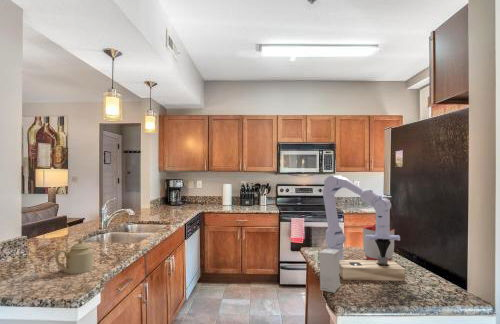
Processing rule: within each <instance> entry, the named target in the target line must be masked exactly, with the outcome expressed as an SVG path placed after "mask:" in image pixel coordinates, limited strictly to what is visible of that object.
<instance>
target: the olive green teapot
mask: <svg viewBox="0 0 500 324" xmlns="http://www.w3.org/2000/svg"><path fill="white" fill-rule="evenodd" d="M83 241H84V240H83V238H82V237H79V238H78V240H77V242H78V243H76V244H73V245H72V246H71V247H69V251H68V252H67V250H65V249H60V250H58V251H57V252H56V253H55V256H54V259H55V260H54V261H55V262H56V265H58V267H60V268H62V269H64V270H65V272H66V274H69V275H79V274H80V275H81V274H85V272H86V273H89V272H91V271H93V269H94V250H93V249H91V245H89V244H88V243H84V242H83ZM61 253H64V255H65V265H63V264H61V263H60V260H59V257H60V254H61ZM90 270H91V271H90ZM88 271H89V272H88Z"/></svg>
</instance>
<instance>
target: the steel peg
mask: <svg viewBox="0 0 500 324" xmlns="http://www.w3.org/2000/svg"><path fill="white" fill-rule="evenodd" d="M378 265H379V266H388V257H387V256H385V257H381V256H380V255H378Z"/></svg>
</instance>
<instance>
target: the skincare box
mask: <svg viewBox="0 0 500 324" xmlns="http://www.w3.org/2000/svg"><path fill="white" fill-rule="evenodd" d="M340 277H341V276H340V268H339V250H334V249H327V248H325V249H322V251H320V252H319V280H320V281H319V283H320V284H319V286H320V287H319V288H320V291H323V292H328V293H333V294H334V293H336V292H337V290H338V289H340V287H341V278H340Z"/></svg>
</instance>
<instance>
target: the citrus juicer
mask: <svg viewBox="0 0 500 324" xmlns="http://www.w3.org/2000/svg"><path fill="white" fill-rule="evenodd" d="M375 234H376V223H374V224H371V225H370V224H368V225H363V226H362V247H363V252H364V256H365V260H378V255H380V251H379V248H378V246H377V243H376V242H375V240H366V235H375ZM390 235H396V230H395V228H394V229H390ZM379 239H380V238H379ZM389 241H391V243H390V245H389V247H388V249H387V252H386V255H385V256H387V257H388V261H392V259H393V256H394V250H395V240H389Z"/></svg>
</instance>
